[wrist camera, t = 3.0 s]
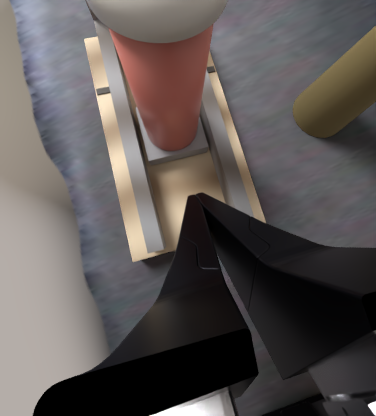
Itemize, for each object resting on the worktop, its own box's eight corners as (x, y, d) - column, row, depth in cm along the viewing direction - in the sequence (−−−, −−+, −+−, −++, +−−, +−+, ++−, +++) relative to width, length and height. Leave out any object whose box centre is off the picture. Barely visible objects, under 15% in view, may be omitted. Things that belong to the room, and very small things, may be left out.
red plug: (207, 153, 15) (262, -15, 5) (151, 166, 14) (78, 15, 4) (191, 103, 15) (211, -141, 5) (138, 114, 15) (48, -124, 5)
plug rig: (256, 225, 16) (299, 222, 10) (139, 258, 15) (112, 275, 10) (197, 41, 19) (204, -45, 13) (94, 59, 18) (52, -23, 12)
